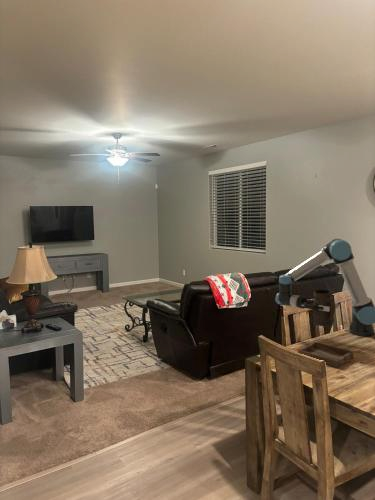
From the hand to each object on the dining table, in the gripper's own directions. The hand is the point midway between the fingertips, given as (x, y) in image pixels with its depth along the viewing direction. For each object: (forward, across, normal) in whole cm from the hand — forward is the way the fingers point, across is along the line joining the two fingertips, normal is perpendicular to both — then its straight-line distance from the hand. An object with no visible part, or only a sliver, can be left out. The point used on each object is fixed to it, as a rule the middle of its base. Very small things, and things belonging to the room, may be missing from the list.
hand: (333, 307), depth 213 cm
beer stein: (-5, 0, -11) cm, 12 cm away
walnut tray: (+4, +17, -24) cm, 29 cm away
